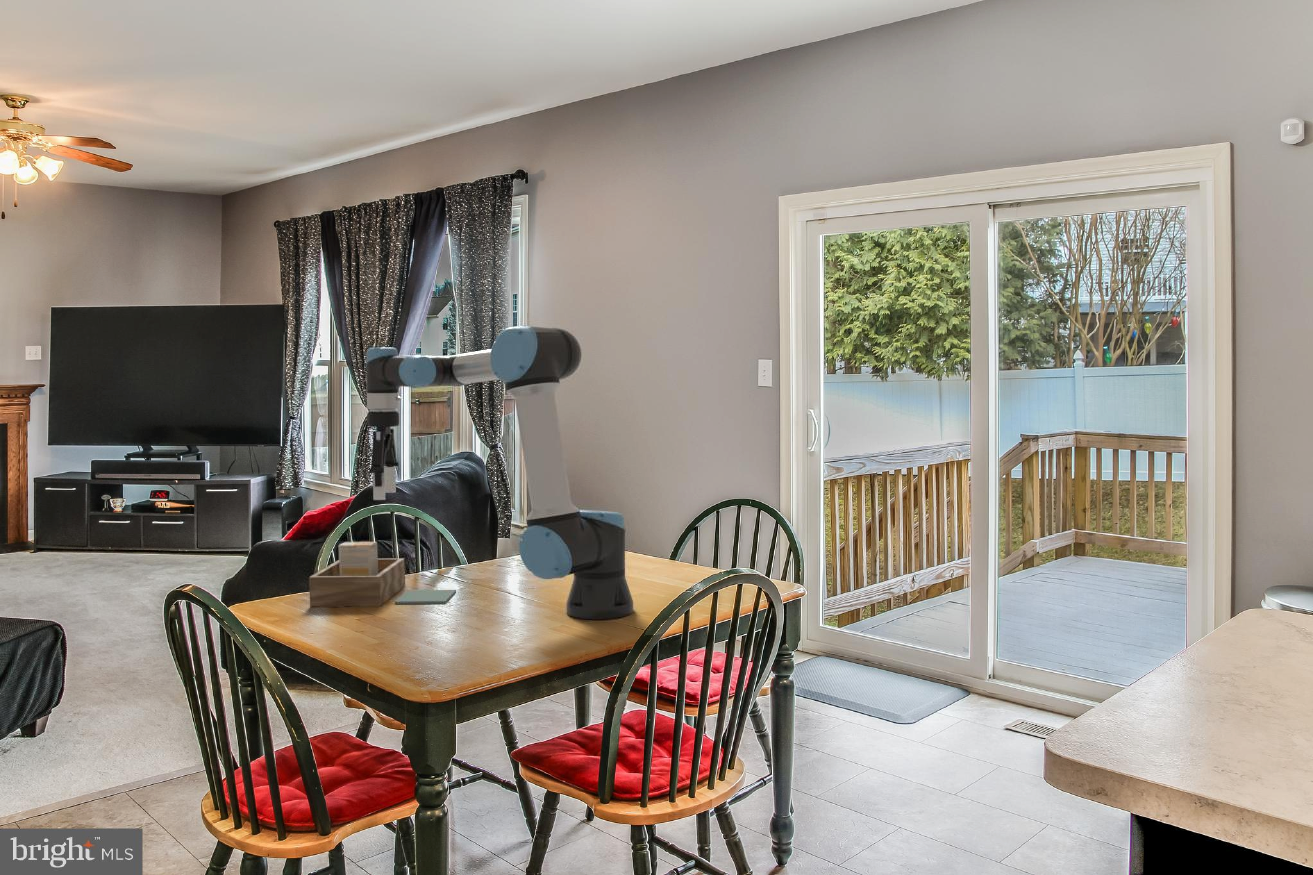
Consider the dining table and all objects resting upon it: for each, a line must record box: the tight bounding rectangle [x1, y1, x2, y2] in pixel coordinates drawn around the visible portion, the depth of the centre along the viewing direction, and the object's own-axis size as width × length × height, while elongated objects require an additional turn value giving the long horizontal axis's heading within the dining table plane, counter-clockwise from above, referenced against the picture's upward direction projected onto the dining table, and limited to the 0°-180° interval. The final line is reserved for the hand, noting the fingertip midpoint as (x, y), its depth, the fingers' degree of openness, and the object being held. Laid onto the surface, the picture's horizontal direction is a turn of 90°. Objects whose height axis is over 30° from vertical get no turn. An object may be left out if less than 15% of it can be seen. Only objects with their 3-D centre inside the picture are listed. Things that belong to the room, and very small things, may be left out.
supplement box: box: [338, 541, 379, 576], centre depth 237 cm, size 8×5×13 cm, turn 84°
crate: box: [308, 557, 406, 608], centre depth 237 cm, size 22×16×7 cm
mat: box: [394, 589, 457, 605], centre depth 234 cm, size 12×12×1 cm
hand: (384, 496), depth 240 cm, fingers open, 13 cm apart
